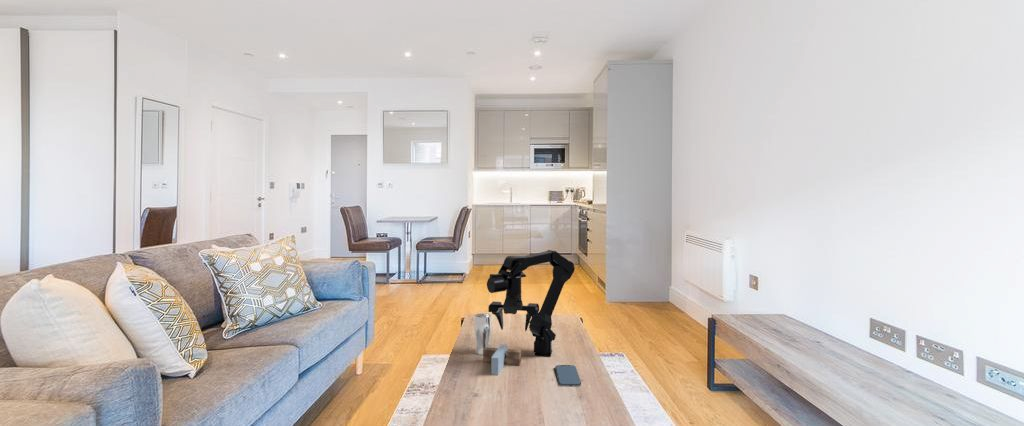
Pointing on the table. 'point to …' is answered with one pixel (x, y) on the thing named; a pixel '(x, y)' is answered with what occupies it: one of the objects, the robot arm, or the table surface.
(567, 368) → the smartphone
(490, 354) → the tan wooden plank
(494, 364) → the pale blue upright post
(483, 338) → the beer glass
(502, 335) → the table surface
